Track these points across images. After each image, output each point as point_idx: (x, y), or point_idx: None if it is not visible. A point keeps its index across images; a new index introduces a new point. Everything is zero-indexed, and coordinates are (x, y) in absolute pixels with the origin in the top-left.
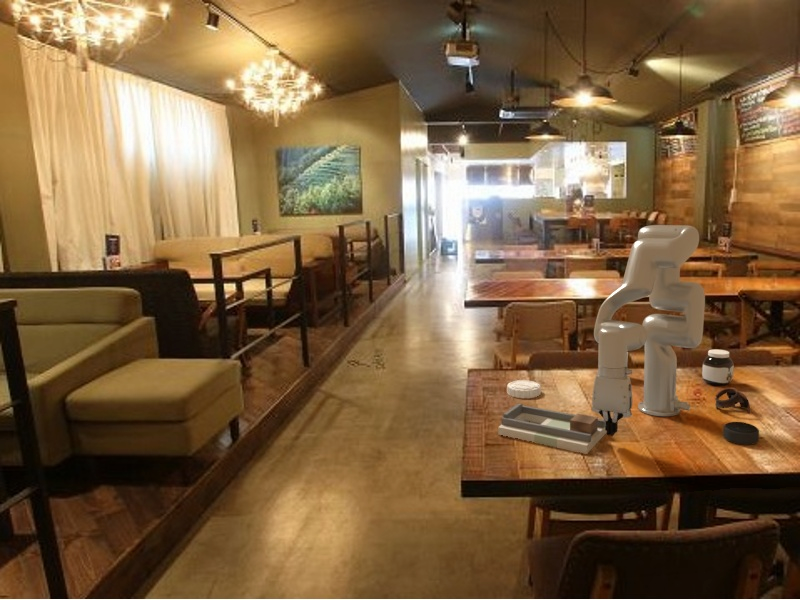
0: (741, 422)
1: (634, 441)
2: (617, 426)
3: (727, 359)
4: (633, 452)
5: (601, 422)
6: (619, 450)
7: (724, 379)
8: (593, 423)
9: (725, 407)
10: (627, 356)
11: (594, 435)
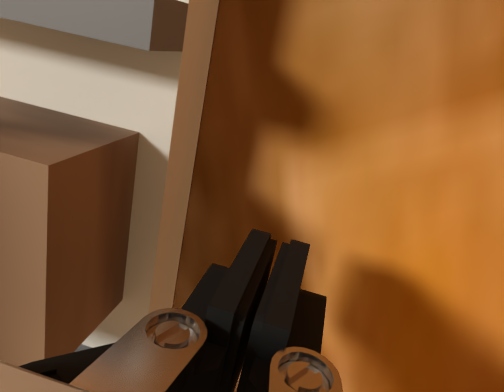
0: None
1: (493, 94)
2: (323, 324)
3: None
4: (460, 323)
5: (131, 45)
6: (353, 306)
7: None
8: (63, 294)
9: None
10: None
11: (141, 261)
